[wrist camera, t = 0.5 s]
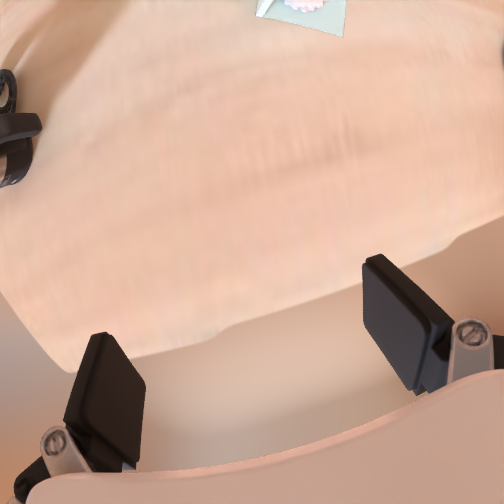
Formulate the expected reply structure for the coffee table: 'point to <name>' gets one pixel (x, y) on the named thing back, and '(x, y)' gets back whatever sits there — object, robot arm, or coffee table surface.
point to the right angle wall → (306, 13)
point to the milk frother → (15, 135)
